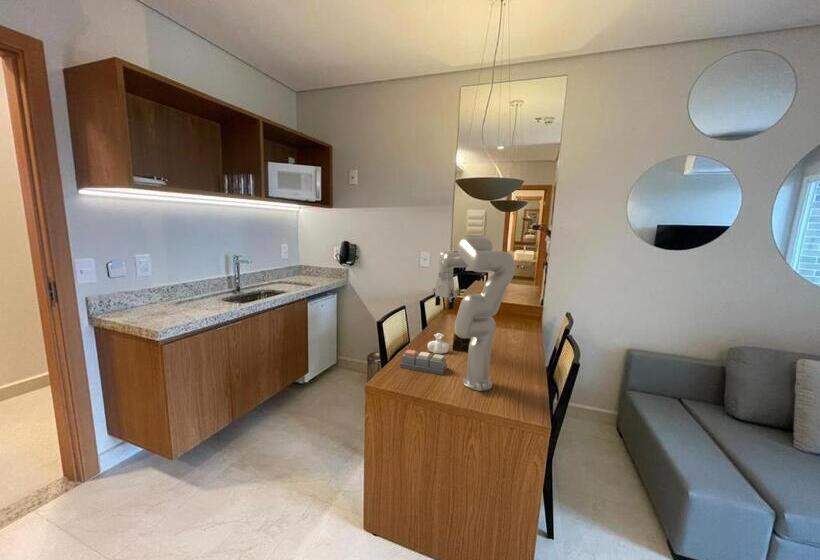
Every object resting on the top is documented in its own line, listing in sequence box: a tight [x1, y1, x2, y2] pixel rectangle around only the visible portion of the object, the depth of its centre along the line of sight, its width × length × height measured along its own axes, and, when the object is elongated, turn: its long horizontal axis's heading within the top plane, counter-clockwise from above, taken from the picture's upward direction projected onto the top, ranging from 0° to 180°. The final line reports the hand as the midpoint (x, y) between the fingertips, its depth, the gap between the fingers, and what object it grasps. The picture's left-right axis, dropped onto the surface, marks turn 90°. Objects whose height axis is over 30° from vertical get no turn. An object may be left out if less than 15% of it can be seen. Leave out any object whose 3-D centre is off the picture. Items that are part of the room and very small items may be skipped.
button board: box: [399, 352, 448, 376], centre depth 162 cm, size 21×9×6 cm, turn 70°
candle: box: [451, 328, 472, 353], centre depth 190 cm, size 10×10×10 cm
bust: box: [427, 332, 450, 355], centre depth 184 cm, size 12×8×11 cm
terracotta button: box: [404, 349, 417, 357], centre depth 164 cm, size 4×4×3 cm
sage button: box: [432, 353, 445, 362], centre depth 159 cm, size 4×4×3 cm
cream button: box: [418, 351, 431, 360], centre depth 162 cm, size 4×4×3 cm
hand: (444, 307), depth 176 cm, fingers open, 9 cm apart
